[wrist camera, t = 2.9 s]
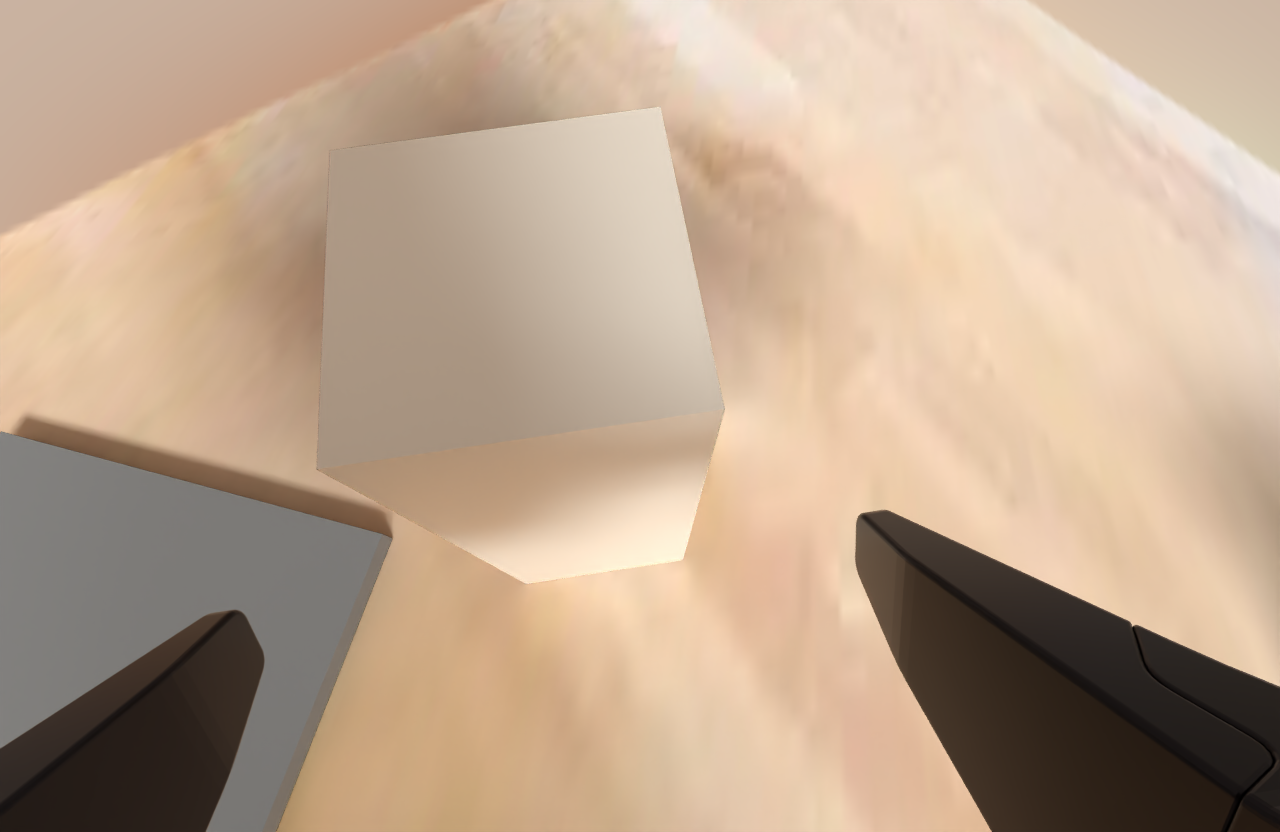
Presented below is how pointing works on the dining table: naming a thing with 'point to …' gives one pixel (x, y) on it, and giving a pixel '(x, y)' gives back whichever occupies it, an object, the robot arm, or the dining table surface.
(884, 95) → the dining table surface
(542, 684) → the dining table surface
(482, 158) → the off-white block
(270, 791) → the gray mat
